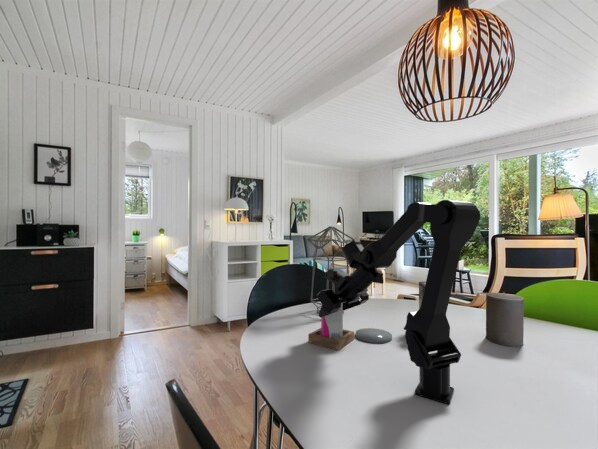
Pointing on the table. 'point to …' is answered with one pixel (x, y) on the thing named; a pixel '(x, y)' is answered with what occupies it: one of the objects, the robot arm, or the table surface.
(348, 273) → the geometric lantern
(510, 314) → the pillar candle
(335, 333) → the supplement box
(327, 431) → the table surface
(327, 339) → the wooden tray
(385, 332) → the slate pad
